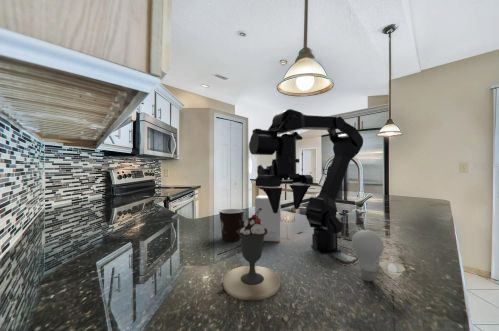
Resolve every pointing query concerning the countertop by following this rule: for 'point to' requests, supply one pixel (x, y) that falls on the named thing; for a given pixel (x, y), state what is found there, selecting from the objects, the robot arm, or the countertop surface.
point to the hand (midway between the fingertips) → (286, 210)
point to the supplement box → (268, 218)
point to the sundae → (252, 246)
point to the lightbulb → (367, 252)
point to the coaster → (251, 292)
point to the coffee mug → (230, 224)
